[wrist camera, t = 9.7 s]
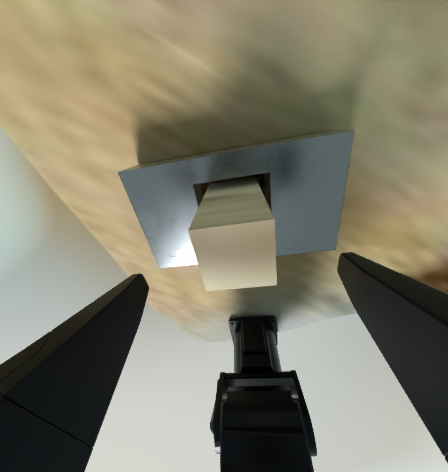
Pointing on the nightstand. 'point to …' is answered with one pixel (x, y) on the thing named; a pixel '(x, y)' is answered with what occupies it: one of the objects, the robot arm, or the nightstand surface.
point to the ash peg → (234, 236)
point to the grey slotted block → (238, 165)
